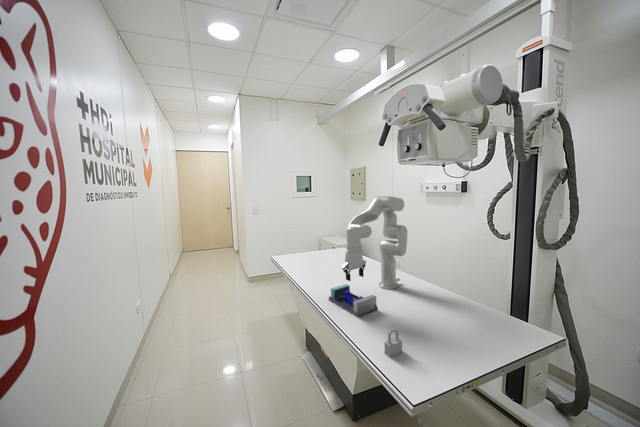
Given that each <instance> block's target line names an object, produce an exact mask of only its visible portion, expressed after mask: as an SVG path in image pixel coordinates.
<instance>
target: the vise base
mask: <svg viewBox="0 0 640 427" xmlns="http://www.w3.org/2000/svg"><path fill="white" fill-rule="evenodd" d="M350 293H351V292H350ZM351 296H352V298H353V300H355V301H353V306H352V305H350V304H349V303H347V302H345V296H344V297H340V298H337V299H334V298H332V297H331V295H329V296H328V301H329V302H331V303H333V304H334V303H335V304H334V305H337V306H338V307H340V308H341V309H343V310H344V311H347V312H348V313H350V314H351V315H353V316H355V317H357V318H362V317H364V316H366V315H370V314H372V313H375V312H377V311H379V308H378V305H377V296H376V295H374V294H372V295H368V296H365V297H363V298H362V299H359V300H357V297H359V296H358V295H356V294H354V293H351Z"/></svg>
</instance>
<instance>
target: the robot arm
mask: <svg viewBox="0 0 640 427" xmlns="http://www.w3.org/2000/svg"><path fill="white" fill-rule="evenodd" d="M404 208H405V201H404V200H403V198H401V197H396V196H386V195H385V196H382V195H381V196H376V197H374V199H373V200H372V201H371V203H370V204H369V205H368V207H367V209H366V210H365V211H362V212H361V213H360V214H357V215H356V216H355V217H353V219H351V221H350V222H349V224H348V225H347V227H346V248H347V249H346V250H347V251H345V255H344V256H345V257H344V264H343V265H342V266H341V269H342V271H343V272H344V274H345V279H346V281H348V282H351V271H353V270H358V276H359V277H362V278H364V275H365V274H364V270H365V267H366V264H367V260H364V257H363V252H362V250H361V249H362V248H363V247H362V245H361V244H362V243H361V240H362V239H368V238H369V237H370V236H371V235H372V232H373V231H372V228H371V226H369V225H368V224H367V223H371V222H375V221H377V220H378V219H379V217H380V216H381V214H383V229H382V234H383V237H385V238H387V239H384V240H382V241H381V242H380V243H379V253H380V265H381V267H380V268H381V269H380V270H381V273H380V274H381V276H380V277H381V279H380V280H381V281H380V282H379V283H378V286H379V287H380V288H382V289H386V290H395V289H398V287H399V284H398V283H397V282H400V281H401V278H400V277H398V278H397V275H396V274H397V273H396V272H397V270H396V265H397V263H396V258H395V256H396V257H403V256H405V255H406V253H407V248H408V235H409V234H408V229H407V227H406V226H405V225H404V224H397V222H398V216H397V214H396V212H402V211H403V210H404ZM390 239H391V240H390Z"/></svg>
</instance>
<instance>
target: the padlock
mask: <svg viewBox="0 0 640 427" xmlns="http://www.w3.org/2000/svg"><path fill="white" fill-rule="evenodd" d="M393 333H395V337H392V335H393ZM387 334H388V335H387V340H386V341H384V343H383V344H384V354H385V355H387V356H388V357H389V358H390V357H393V356H396V355H399V354H400V353H402V352H403V340H402V339H401V338H400V336H399V335H400V333H399V330H398V329H397V328H391V330H389V331H388V333H387Z"/></svg>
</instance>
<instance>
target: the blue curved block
mask: <svg viewBox="0 0 640 427" xmlns="http://www.w3.org/2000/svg"><path fill="white" fill-rule="evenodd" d="M362 298H364V297H363V296H361V295H360V296H358V297H357V300H359V299H362ZM353 301H355V300H353V298H352V296H351V290H350V291H349V290H348V291H345V302H347V303H349V304H350V305H352V306H353Z"/></svg>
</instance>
